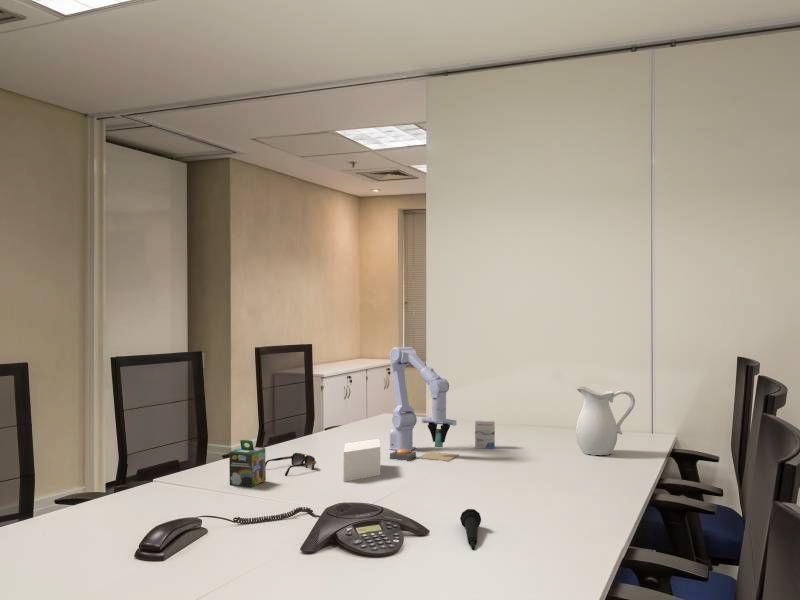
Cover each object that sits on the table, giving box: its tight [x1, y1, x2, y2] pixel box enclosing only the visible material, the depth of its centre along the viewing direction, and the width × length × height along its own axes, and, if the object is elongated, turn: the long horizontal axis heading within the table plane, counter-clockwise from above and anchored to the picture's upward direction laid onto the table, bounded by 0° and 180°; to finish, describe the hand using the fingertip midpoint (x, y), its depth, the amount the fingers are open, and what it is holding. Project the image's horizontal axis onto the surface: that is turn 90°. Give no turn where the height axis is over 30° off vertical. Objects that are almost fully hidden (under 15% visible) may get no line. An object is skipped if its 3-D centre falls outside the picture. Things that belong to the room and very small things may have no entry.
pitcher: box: [575, 386, 636, 456], centre depth 285 cm, size 24×17×28 cm
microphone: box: [459, 508, 482, 551], centre depth 176 cm, size 6×6×20 cm
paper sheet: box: [417, 451, 460, 462], centre depth 276 cm, size 13×13×1 cm
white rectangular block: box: [342, 438, 381, 482], centre depth 247 cm, size 14×29×10 cm, turn 157°
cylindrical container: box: [434, 428, 444, 448], centre depth 276 cm, size 3×3×7 cm
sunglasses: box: [265, 452, 317, 477], centre depth 251 cm, size 14×15×5 cm
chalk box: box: [228, 439, 267, 488], centre depth 230 cm, size 9×9×15 cm
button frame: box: [389, 450, 417, 462], centre depth 273 cm, size 8×8×2 cm
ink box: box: [474, 419, 496, 449], centre depth 297 cm, size 8×5×12 cm, turn 84°
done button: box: [396, 449, 409, 455], centre depth 273 cm, size 5×5×2 cm
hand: (438, 441), depth 276 cm, fingers closed on cylindrical container, 3 cm apart
